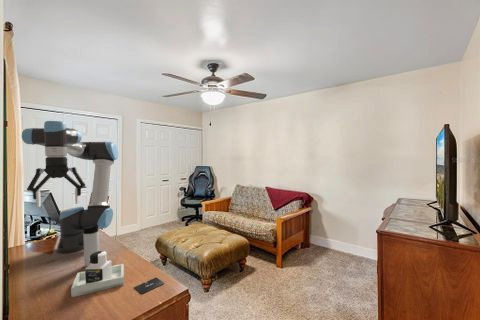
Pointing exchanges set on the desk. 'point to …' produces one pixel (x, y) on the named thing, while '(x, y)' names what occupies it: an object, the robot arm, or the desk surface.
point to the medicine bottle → (98, 267)
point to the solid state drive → (148, 285)
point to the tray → (83, 288)
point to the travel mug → (90, 242)
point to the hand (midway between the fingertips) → (58, 204)
